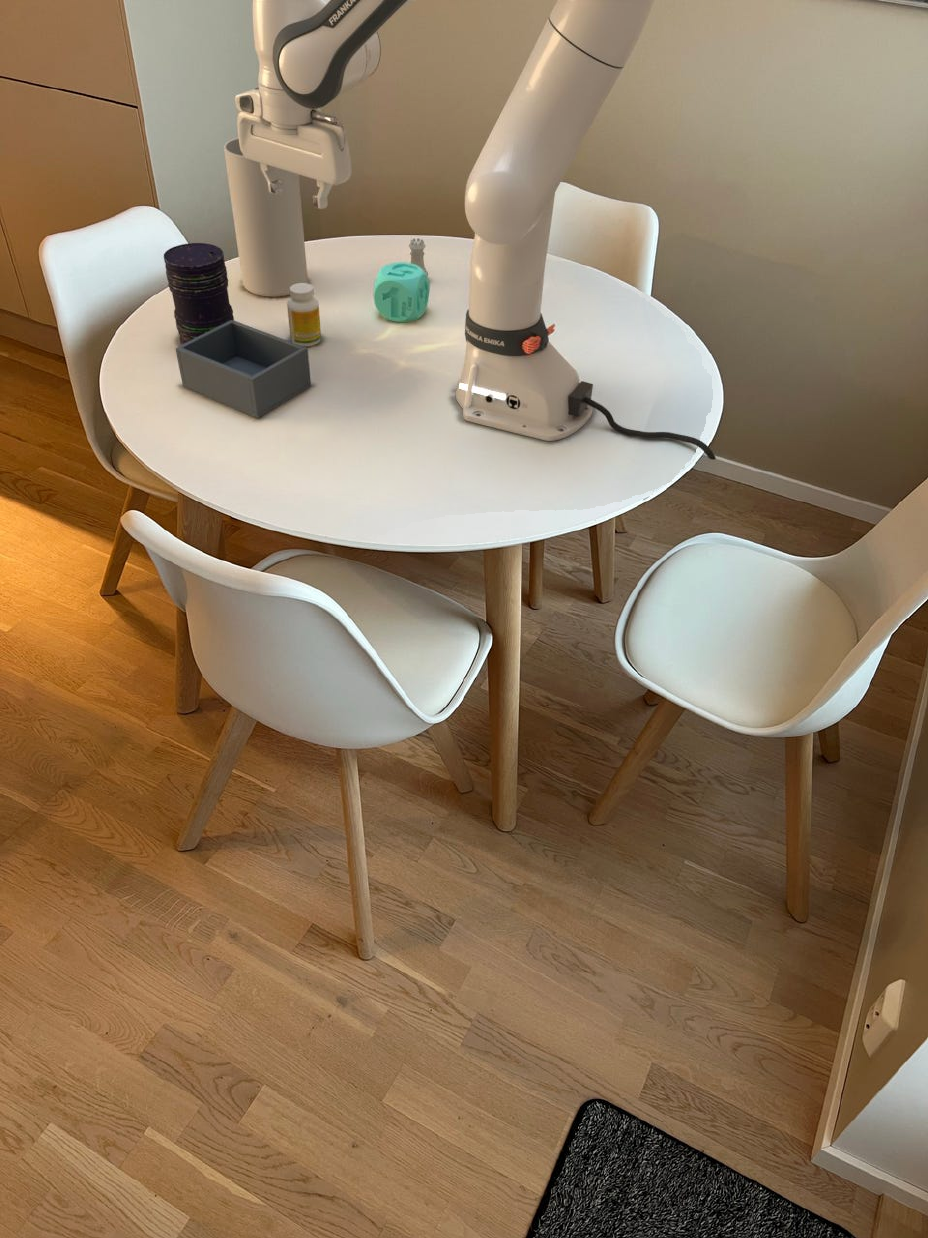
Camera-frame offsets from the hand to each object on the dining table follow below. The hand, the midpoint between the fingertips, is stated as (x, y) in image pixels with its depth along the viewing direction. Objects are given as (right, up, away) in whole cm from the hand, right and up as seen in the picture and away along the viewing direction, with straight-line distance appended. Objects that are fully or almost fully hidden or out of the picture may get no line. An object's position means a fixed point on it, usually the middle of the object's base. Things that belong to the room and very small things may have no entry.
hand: (298, 200), depth 147 cm
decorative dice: (+15, -10, +25) cm, 31 cm away
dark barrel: (-19, -17, +16) cm, 30 cm away
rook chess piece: (+17, 0, +36) cm, 40 cm away
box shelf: (-9, -29, +4) cm, 30 cm away
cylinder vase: (-10, -2, +33) cm, 35 cm away
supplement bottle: (-1, -18, +16) cm, 24 cm away
